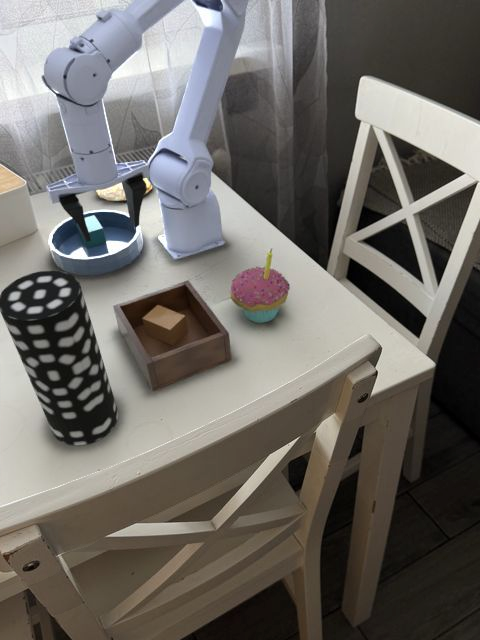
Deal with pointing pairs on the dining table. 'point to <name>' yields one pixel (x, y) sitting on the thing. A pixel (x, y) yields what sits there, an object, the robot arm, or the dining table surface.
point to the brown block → (165, 324)
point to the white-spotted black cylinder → (60, 354)
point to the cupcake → (260, 292)
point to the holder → (189, 351)
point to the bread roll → (117, 192)
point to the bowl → (99, 259)
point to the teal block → (93, 232)
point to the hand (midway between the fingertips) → (111, 230)
